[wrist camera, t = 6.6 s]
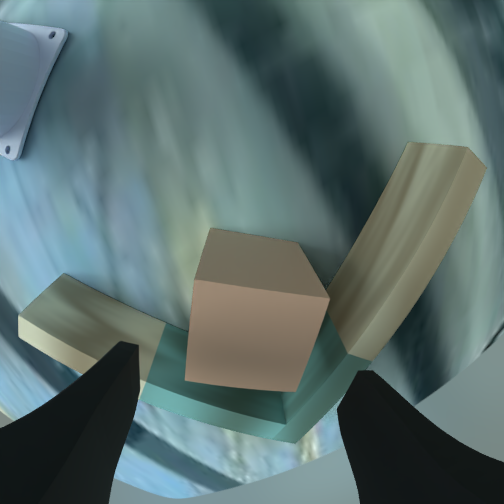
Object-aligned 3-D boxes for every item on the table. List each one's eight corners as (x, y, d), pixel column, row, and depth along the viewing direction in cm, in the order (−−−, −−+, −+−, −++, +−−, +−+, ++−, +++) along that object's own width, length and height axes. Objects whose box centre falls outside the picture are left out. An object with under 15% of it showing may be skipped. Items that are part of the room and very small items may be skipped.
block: (199, 305, 16) (184, 380, 11) (210, 227, 15) (194, 279, 9) (278, 316, 17) (295, 392, 11) (297, 242, 15) (330, 298, 10)
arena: (60, 292, 16) (18, 336, 11) (163, 17, 11) (134, -28, 6) (284, 385, 19) (295, 443, 14) (426, 157, 14) (486, 167, 9)
